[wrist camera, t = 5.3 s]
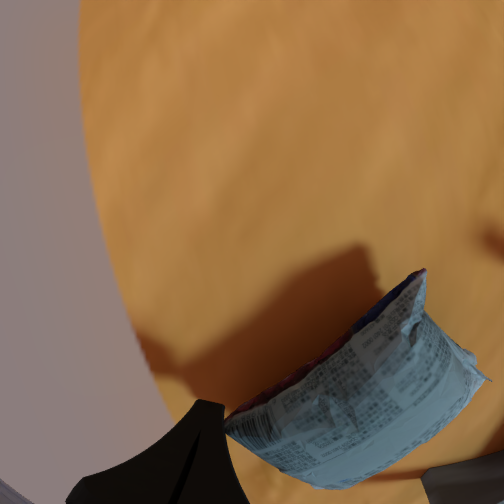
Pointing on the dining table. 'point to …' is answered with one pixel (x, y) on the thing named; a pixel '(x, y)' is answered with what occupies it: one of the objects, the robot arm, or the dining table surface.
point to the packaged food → (362, 396)
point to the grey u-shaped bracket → (467, 481)
